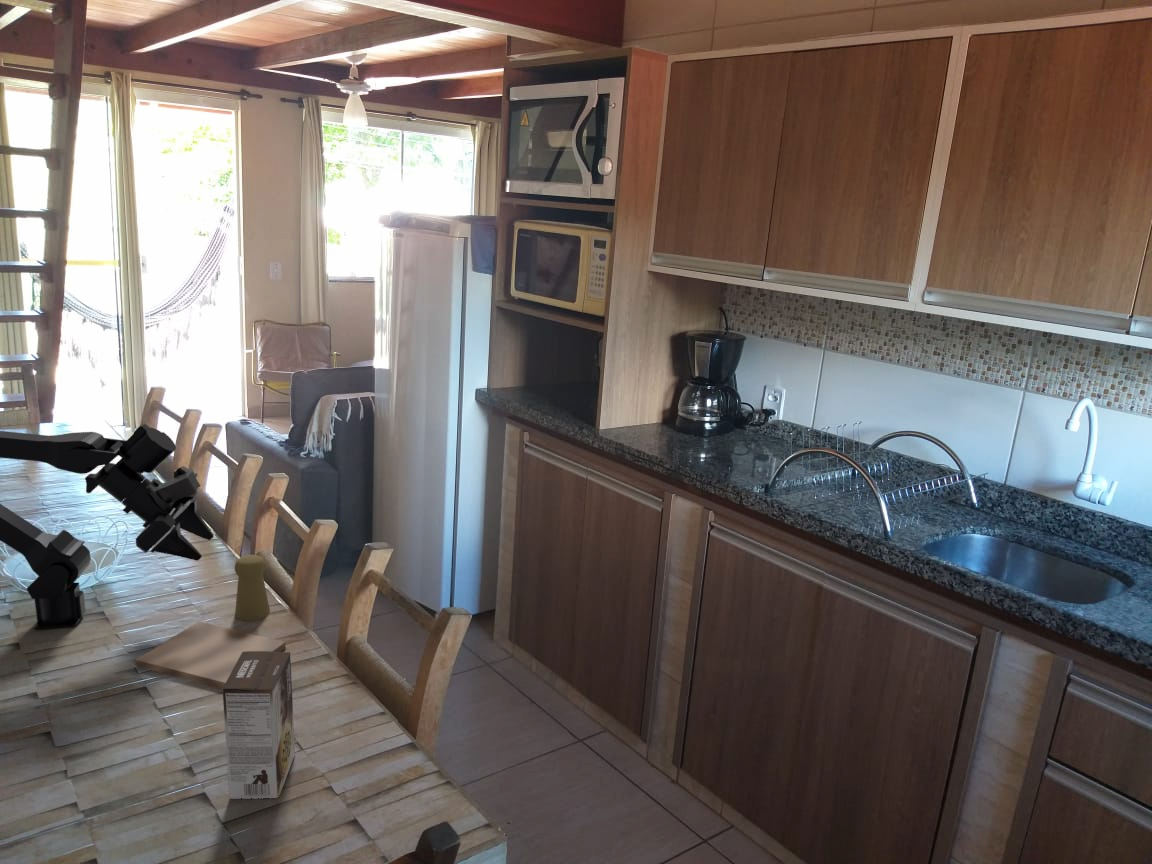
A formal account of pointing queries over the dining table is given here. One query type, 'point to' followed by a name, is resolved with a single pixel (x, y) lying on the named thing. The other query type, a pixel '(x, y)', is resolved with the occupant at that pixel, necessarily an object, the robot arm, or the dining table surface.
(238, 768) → the coffee box
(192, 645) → the walnut board
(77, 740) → the dining table surface
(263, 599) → the cork
